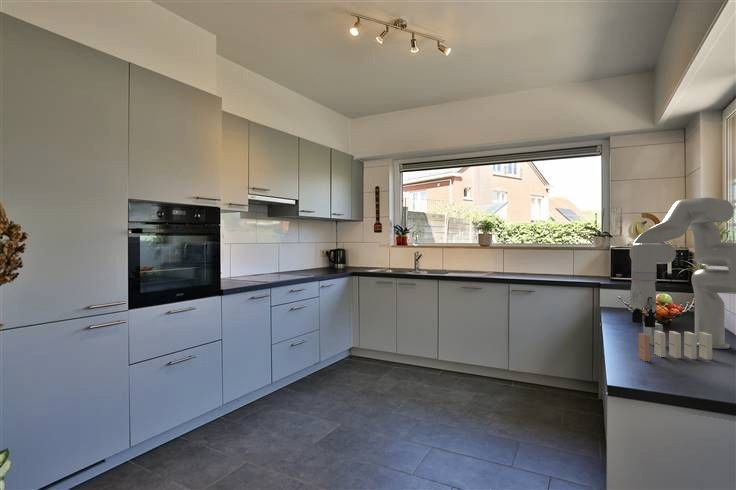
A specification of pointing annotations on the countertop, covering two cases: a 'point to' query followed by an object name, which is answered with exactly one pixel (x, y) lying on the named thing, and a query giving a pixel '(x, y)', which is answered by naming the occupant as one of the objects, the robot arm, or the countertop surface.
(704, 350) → the domino
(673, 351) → the domino
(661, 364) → the countertop surface
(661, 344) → the domino
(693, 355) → the domino
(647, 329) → the medicine box
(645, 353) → the domino
